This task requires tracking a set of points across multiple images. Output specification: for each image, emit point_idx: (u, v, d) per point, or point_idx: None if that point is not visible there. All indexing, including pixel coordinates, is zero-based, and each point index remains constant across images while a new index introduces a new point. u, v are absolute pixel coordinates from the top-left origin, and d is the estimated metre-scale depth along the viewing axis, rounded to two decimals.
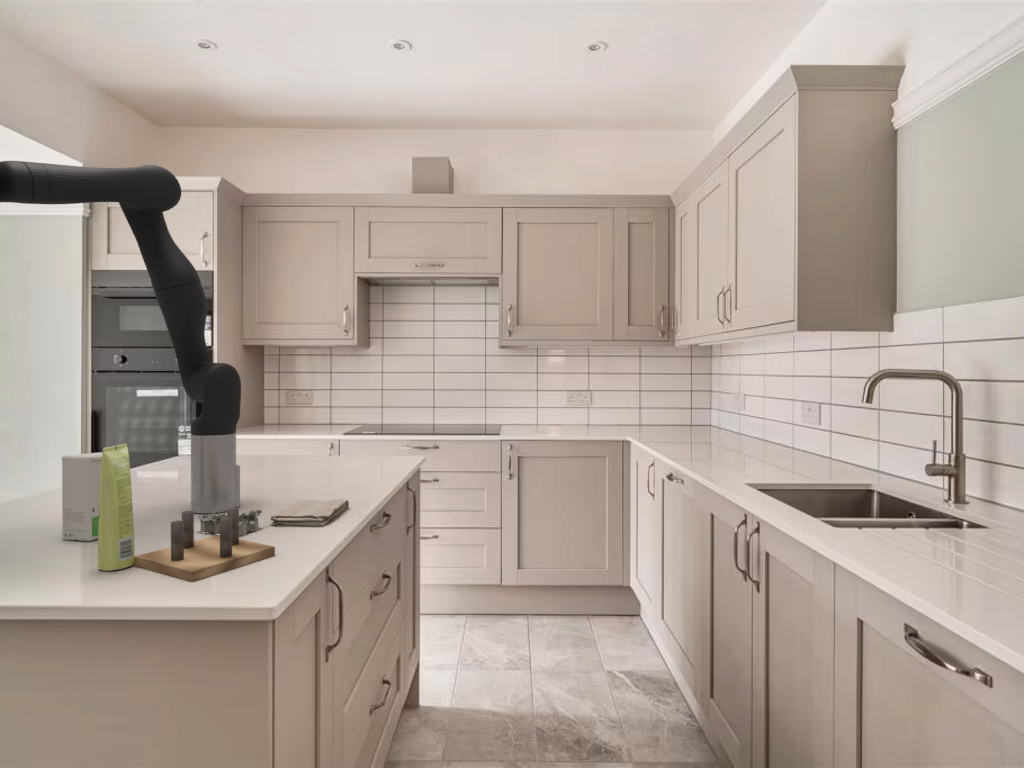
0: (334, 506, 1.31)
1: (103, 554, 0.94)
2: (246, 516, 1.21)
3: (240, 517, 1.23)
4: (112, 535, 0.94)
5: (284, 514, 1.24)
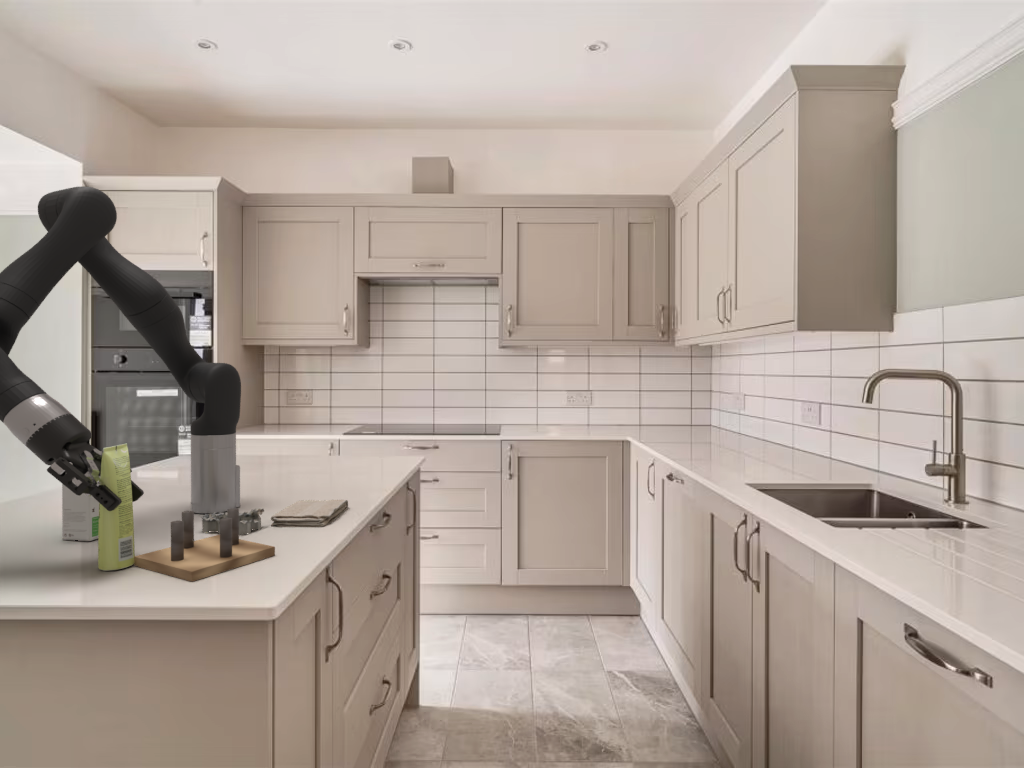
0: (334, 506, 1.31)
1: (104, 554, 0.94)
2: (248, 515, 1.22)
3: (241, 516, 1.23)
4: (112, 535, 0.94)
5: (284, 514, 1.24)
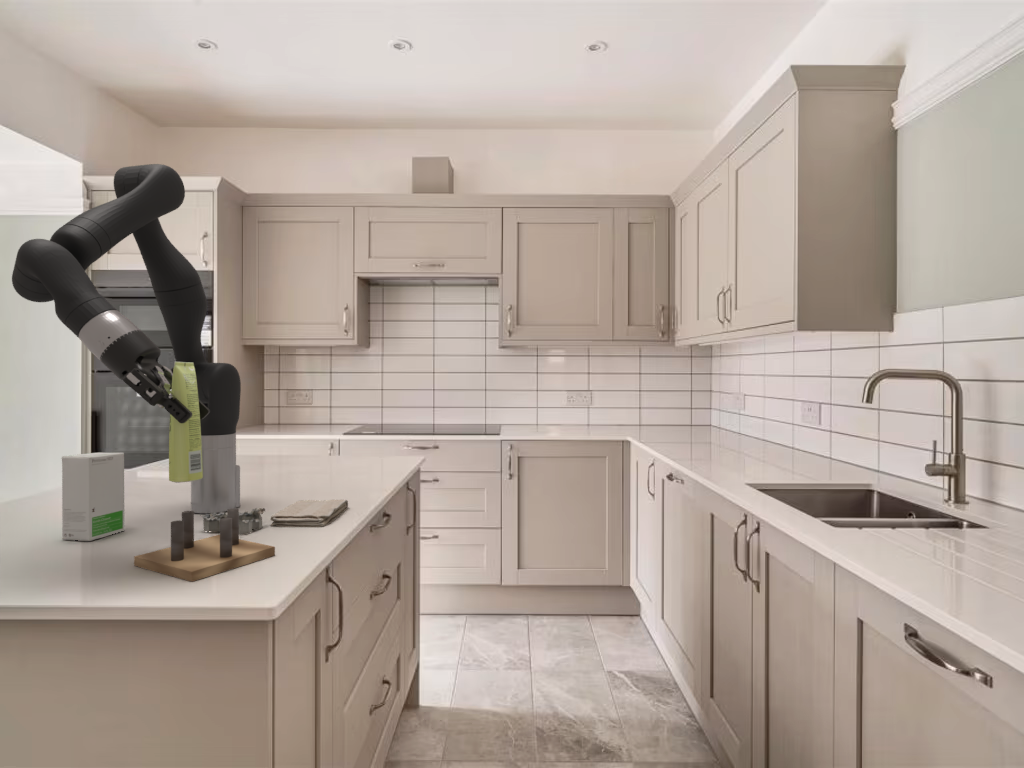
0: (334, 506, 1.31)
1: (175, 466, 0.97)
2: (249, 514, 1.22)
3: (242, 516, 1.24)
4: (182, 448, 0.97)
5: (284, 514, 1.24)
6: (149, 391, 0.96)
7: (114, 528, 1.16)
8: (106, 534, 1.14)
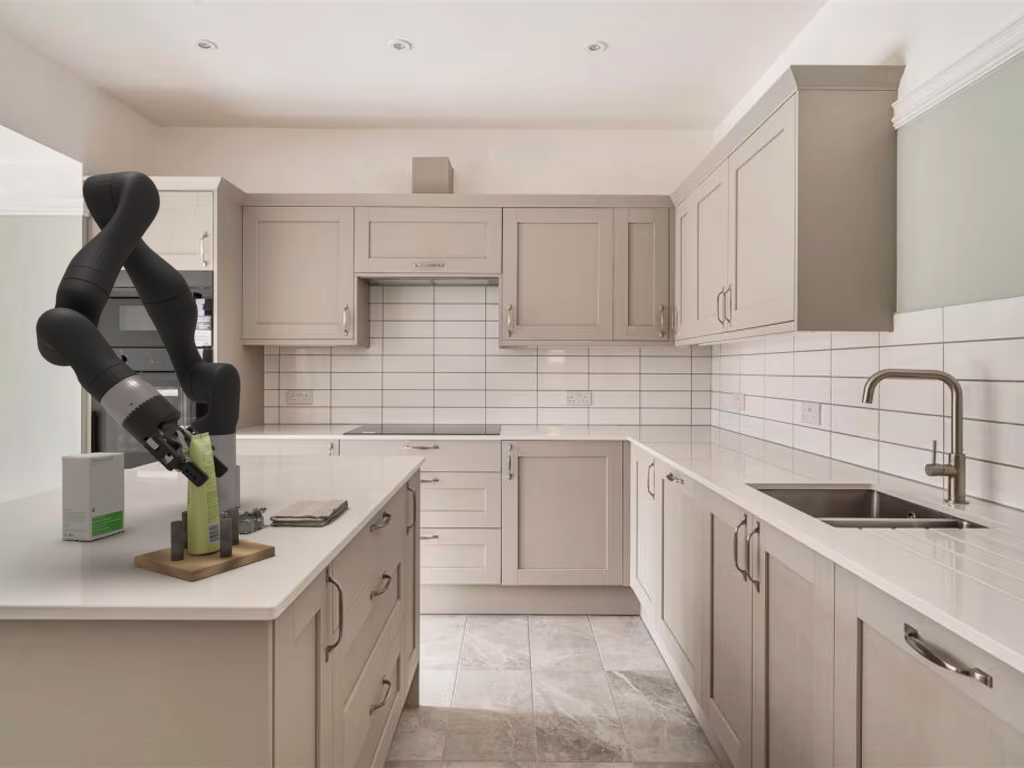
0: (333, 506, 1.31)
1: (194, 539, 0.98)
2: (250, 514, 1.23)
3: (243, 515, 1.24)
4: (201, 520, 0.98)
5: (283, 514, 1.24)
6: (168, 455, 0.97)
7: (114, 528, 1.16)
8: (106, 534, 1.14)
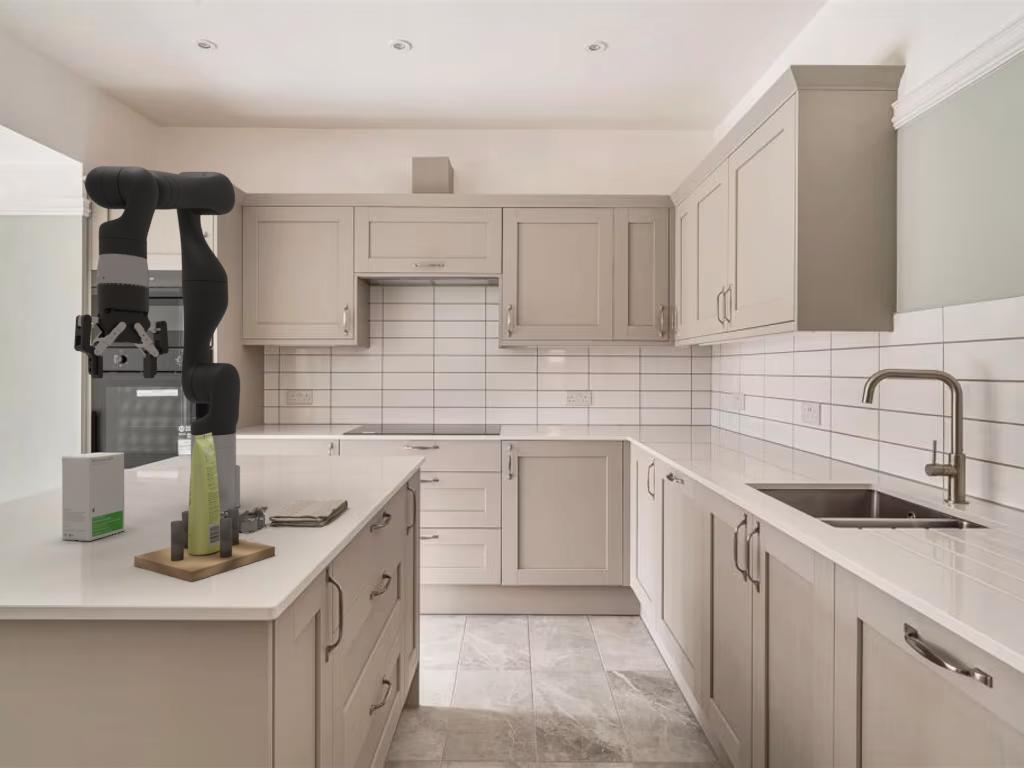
0: (333, 506, 1.31)
1: (194, 539, 0.98)
2: (251, 513, 1.23)
3: (243, 515, 1.25)
4: (202, 521, 0.98)
5: (283, 514, 1.24)
6: (101, 335, 1.02)
7: (114, 528, 1.16)
8: (106, 534, 1.14)
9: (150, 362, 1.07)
